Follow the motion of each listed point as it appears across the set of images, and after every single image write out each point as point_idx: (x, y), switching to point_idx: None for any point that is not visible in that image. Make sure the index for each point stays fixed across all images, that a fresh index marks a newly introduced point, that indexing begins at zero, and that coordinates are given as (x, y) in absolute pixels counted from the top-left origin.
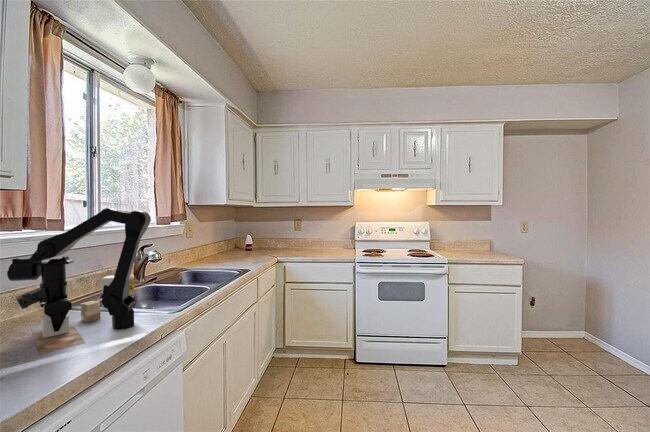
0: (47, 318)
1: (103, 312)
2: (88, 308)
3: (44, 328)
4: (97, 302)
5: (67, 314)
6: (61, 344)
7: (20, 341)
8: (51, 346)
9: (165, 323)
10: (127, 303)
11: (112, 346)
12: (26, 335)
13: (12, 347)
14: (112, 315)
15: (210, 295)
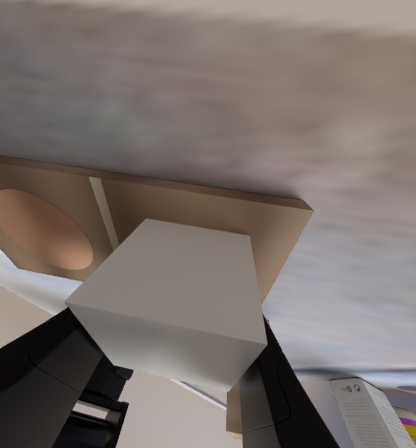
0: (139, 334)
1: (318, 365)
2: (227, 403)
3: (116, 255)
4: (234, 437)
5: (158, 375)
6: (19, 232)
7: (265, 133)
8: (4, 207)
9: None
10: (109, 423)
11: (19, 283)
12: (357, 183)
13: (177, 68)
14: (107, 371)
15: (218, 404)
